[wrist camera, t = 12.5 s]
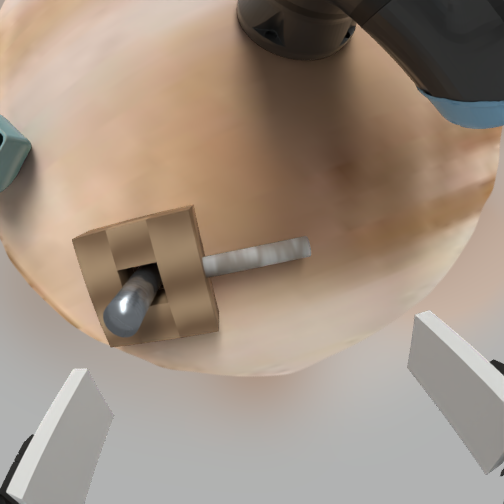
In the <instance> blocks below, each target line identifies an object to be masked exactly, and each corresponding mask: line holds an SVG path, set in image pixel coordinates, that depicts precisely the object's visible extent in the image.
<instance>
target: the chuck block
mask: <svg viewBox="0 0 504 504" xmlns="http://www.w3.org/2000/svg"><path fill="white" fill-rule="evenodd" d="M72 242H73V245H74V249H75V252H76V256H77V259H78V262H79V265H80V268H81V272H82V275H83V278H84V281H85V284H86V286H87V289H88V292H89V295H90V298H91V300H92V303H93V306H94V308H95V311H96V313H97V316H98V319H99V321H100V323H101V326H102V328H103V331H104V333H105V335H106V338H107V340H108V342H109V345H110V347H118V346H126V345H134V344H142V343H149V342H156V341H163V340H169V339H176V338H182V337H188V336H194V335H200V334H206V333H211V332H217V331H219V310H218V307H217V303H216V299H215V295H214V291H213V287H212V283H211V279H210V277H214V276H219V275H224V274H229V273H233V272H238V271H243V270H248V269H253V268H258V267H263V266H267V265H272V264H277V263H282V262H286V261H291V260H296V259H300V258H305V257H310V256H311V247H310V243H309V240H308V238H307V236H303V237H299V238H294V239H289V240H284V241H279V242H274V243H269V244H264V245H259V246H254V247H249V248H244V249H240V250H235V251H230V252H225V253H220V254H215V255H210V256H206V257H205V254H204V250H203V246H202V241H201V237H200V233H199V228H198V224H197V219H196V215H195V210H194V205H189V206H185V207H180V208H176V209H172V210H167V211H163V212H159V213H155V214H151V215H147V216H143V217H139V218H135V219H131V220H127V221H123V222H119V223H115V224H112V225H108V226H104V227H101V228H97V229H93V230H90V231H88V232H86V233H84V234H82V235H80V236H78V237H76V238H74V239H72ZM155 262H157V265H158V269H159V272H160V275H161V279H162V282H163V286H164V289H158V291H157V293H156V295H155V297H154V299H153V301H152V303H151V305H150V307H149V309H148V311H147V313H146V315H145V317H144V319H143V321H142V323H141V325H140V327H139V329H138V331H137V332H136V333H135V334H134V335H133V336H131V337H119V336H117V335H115V334H113V333H112V332H111V331H109V329H108V328H107V327H106V325H105V323H104V320H103V313H104V310H105V308H106V307H107V306H108V304H109V303H110V302H111V301H112V299H113V298H114V297H115V296H116V294H117V293H118V292H119V291H120V289H121V288H122V287H123V286H124V285H125V283H126V282H127V281H128V280H129V278H130V277H131V276H132V275H133V274H134V270H133V267H136V266H141V265H145V264H150V263H155Z"/></svg>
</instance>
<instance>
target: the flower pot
mask: <svg viewBox="0 0 504 504" xmlns="http://www.w3.org/2000/svg"><path fill="white" fill-rule="evenodd" d="M30 149H31V143H30V142H29V140H28V139H27V138H25V137H24V136H23V135H22V134H21V133H20V132H19V131H18V130H17V129H16V128H15V127H14V126H13V125H12V124H11V123H10V122H9V121H8V120H7V119H6V118H5V117H3V116H2V115H0V192H2V191H3V190H5V189H6V188H7V187H8V186H9V185H10V184H11V183H12V181H13V180H14V179H15V177H16V176H17V174H18V172H19V170H20V168H21V166H22V164H23V162H24V160H25V158H26V157H27V155H28V153H29V151H30Z"/></svg>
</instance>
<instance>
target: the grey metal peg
mask: <svg viewBox="0 0 504 504" xmlns="http://www.w3.org/2000/svg"><path fill="white" fill-rule="evenodd" d="M161 284H162V279H161V275H160V272H159V269H158V265H157V262H155V263H150V264H145V265H141V266H139V268H138V269H137V270H136V271H135V272H134V274H133V275H132V276H131V277H130V278H129V280H128V281H127V282H126V283H125V285H124V286H123V287H122V288H121V289H120V291H119V292H118V293H117V294H116V296H115V297H114V298H113V299H112V301H111V302H110V303H109V304H108V306H107V307H106V308H105V310H104V313H103V320H104V323H105V325H106V327H107V328H108V329H109V331H111V332H112V333H113V334H115V335H117V336H119V337H131V336H133V335H134V334H135V333H136V332H137V331H138V329H139V327H140V325H141V323H142V321H143V319H144V317H145V315H146V313H147V311H148V309H149V307H150V305H151V303H152V301H153V299H154V297H155V295H156V293H157V291H158V289H159V287H160V285H161Z"/></svg>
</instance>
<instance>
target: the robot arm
mask: <svg viewBox="0 0 504 504" xmlns="http://www.w3.org/2000/svg"><path fill="white" fill-rule="evenodd" d="M237 16H238V20H239V22H240V24H241V26H242V28H243V30H244V31H245V33H246V34H247V35H248V36H249V37H250V38H251V39H252V40H253V41H254V42H255V43H257V44H258V45H259V46H261V47H262V48H264V49H266V50H268V51H269V52H272V53H274V54H276V55H279V56H282V57H286V58H290V59H295V60H316V59H322V58H325V57H328V56H330V55H332V54H334V53H336V52H337V51H338V50H340V49H341V48H342V47H343V46H344V45H345V44H346V43H347V42H348V41H349V40H350V38H351V37H352V35H353V33H354V31H355V27H356V23H357V24H358V25H360V27H361V28H362V29H363V30H365V31H366V32H367V33H368V34H369V35H370V36H371V37H372V38H373V39H374V40H375V41H376V42H377V43H378V44H379V45H380V46H381V47H382V48H383V49H384V50H385V51H386V52H387V53H388V54H389V55H390V56H391V57H392V58H393V59H394V60H395V61H396V62H397V63H398V65H399V66H400V67H401V68H402V69H403V70H404V71H405V72H406V74H407V75H408V76H409V77H410V78H411V80H412V81H413V82H414V83H415V85H416V87H417V89H418V90H419V92H420V93H421V94H423V95H424V96H425V97H427V98H428V99H429V100H430V101H431V103H432V104H433V105H434V106H435V107H436V109H437V110H438V111H439V112H440V114H441V115H442V116H443V117H444V118H445V119H447V120H448V121H450V122H451V123H454V124H457V125H460V126H462V127H465V128H472V129H486V128H494V127H499V126H503V125H504V0H238V2H237ZM407 368H408V369H409V370H410V372H411V373H412V374H413V376H414V377H415V378H416V379H417V381H418V382H419V383H420V385H421V386H422V387H423V388H424V390H425V391H426V392H427V394H428V395H429V396H430V398H431V399H432V400H433V401H434V403H435V404H436V406H437V407H438V408H439V410H440V411H441V412H442V414H443V415H444V416H445V418H446V419H447V420H448V422H449V423H450V425H451V426H452V427H453V428H454V430H455V431H456V433H457V434H458V435H459V437H460V438H461V440H462V441H463V443H464V444H465V445H466V447H467V448H468V450H469V451H470V453H471V454H472V455H473V457H474V458H475V460H476V461H477V463H478V464H479V465H480V467H481V469H482V470H483V472H484V473H485V474H486V475H487V474H488V473H490V472H491V471H493V470H494V469H495V468H497V467H498V466H499V465H501V464H502V463H503V461H504V364H503V363H501V362H498V361H496V360H492V361H490V362H489V361H487V360H486V359H485V358H484V357H483V356H482V355H481V354H480V353H479V352H478V351H476V350H475V349H474V348H473V347H472V346H471V345H470V344H469V343H468V342H466V341H465V340H464V339H463V338H462V337H461V336H460V335H458V334H457V333H456V332H455V331H454V330H453V329H451V328H450V327H449V326H448V325H447V324H446V323H444V322H443V321H442V320H441V319H440V318H439V317H437V316H436V315H435V314H434V313H433V312H431V311H430V310H428V311H425V312H422V313H419V314H416V315H415V319H414V327H413V334H412V342H411V348H410V354H409V360H408V366H407ZM113 417H114V414H113V413H112V411H111V410H110V408H109V406H108V404H107V403H106V401H105V399H104V398H103V396H102V394H101V393H100V391H99V389H98V387H97V385H96V383H95V381H94V380H93V378H92V376H91V374H90V372H89V370H88V369H73V370H72V372H71V374H70V376H69V377H68V379H67V380H66V382H65V383H64V385H63V386H62V388H61V390H60V391H59V393H58V395H57V396H56V398H55V400H54V401H53V403H52V405H51V406H50V408H49V410H48V412H47V413H46V415H45V417H44V419H43V420H42V422H41V424H40V426H39V427H38V429H37V431H36V433H35V435H31V436H30V437H29V438H28V439H27V440H26V441H25V442H24V443H23V445H22V447H21V449H20V450H19V452H18V453H19V454H18V455H17V456H16V458H15V462H13V464H12V466H11V468H10V470H9V472H8V474H7V476H6V478H5V480H4V482H3V484H2V487H1V488H0V504H84V503H85V499H86V496H87V493H88V490H89V487H90V483H91V480H92V477H93V474H94V471H95V467H96V465H97V462H98V459H99V455H100V453H101V450H102V447H103V444H104V441H105V439H106V436H107V433H108V430H109V427H110V425H111V422H112V419H113ZM503 475H504V469H503V470H502V472H501V475H500V476H503Z"/></svg>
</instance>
